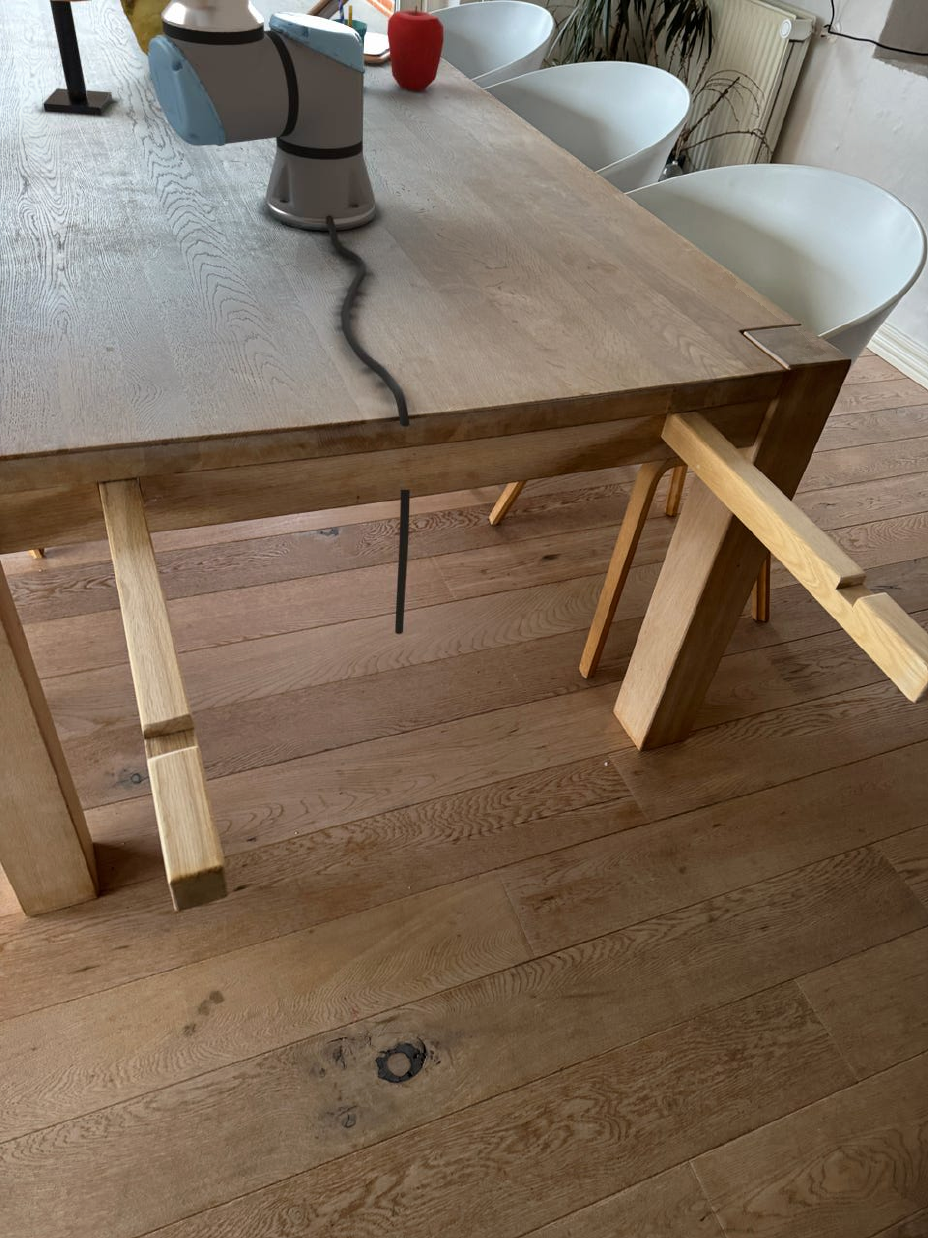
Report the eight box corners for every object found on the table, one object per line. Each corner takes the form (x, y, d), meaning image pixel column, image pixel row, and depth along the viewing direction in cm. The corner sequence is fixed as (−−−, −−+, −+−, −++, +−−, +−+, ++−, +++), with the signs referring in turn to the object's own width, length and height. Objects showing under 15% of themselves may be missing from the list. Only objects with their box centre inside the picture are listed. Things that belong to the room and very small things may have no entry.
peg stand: (101, 115, 151) (82, 6, 140) (44, 111, 150) (21, 1, 139) (112, 99, 157) (95, -6, 146) (58, 95, 156) (37, -11, 145)
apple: (450, 89, 180) (455, 8, 170) (415, 97, 174) (419, 13, 164) (410, 76, 184) (413, -4, 175) (375, 83, 178) (377, 1, 169)
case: (321, 32, 204) (319, -56, 193) (410, 47, 201) (413, -42, 190) (284, 51, 189) (279, -43, 178) (379, 67, 187) (381, -27, 175)
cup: (315, 77, 178) (313, -15, 167) (353, 76, 180) (353, -15, 170) (337, 98, 169) (336, 2, 158) (377, 97, 171) (379, 3, 161)
